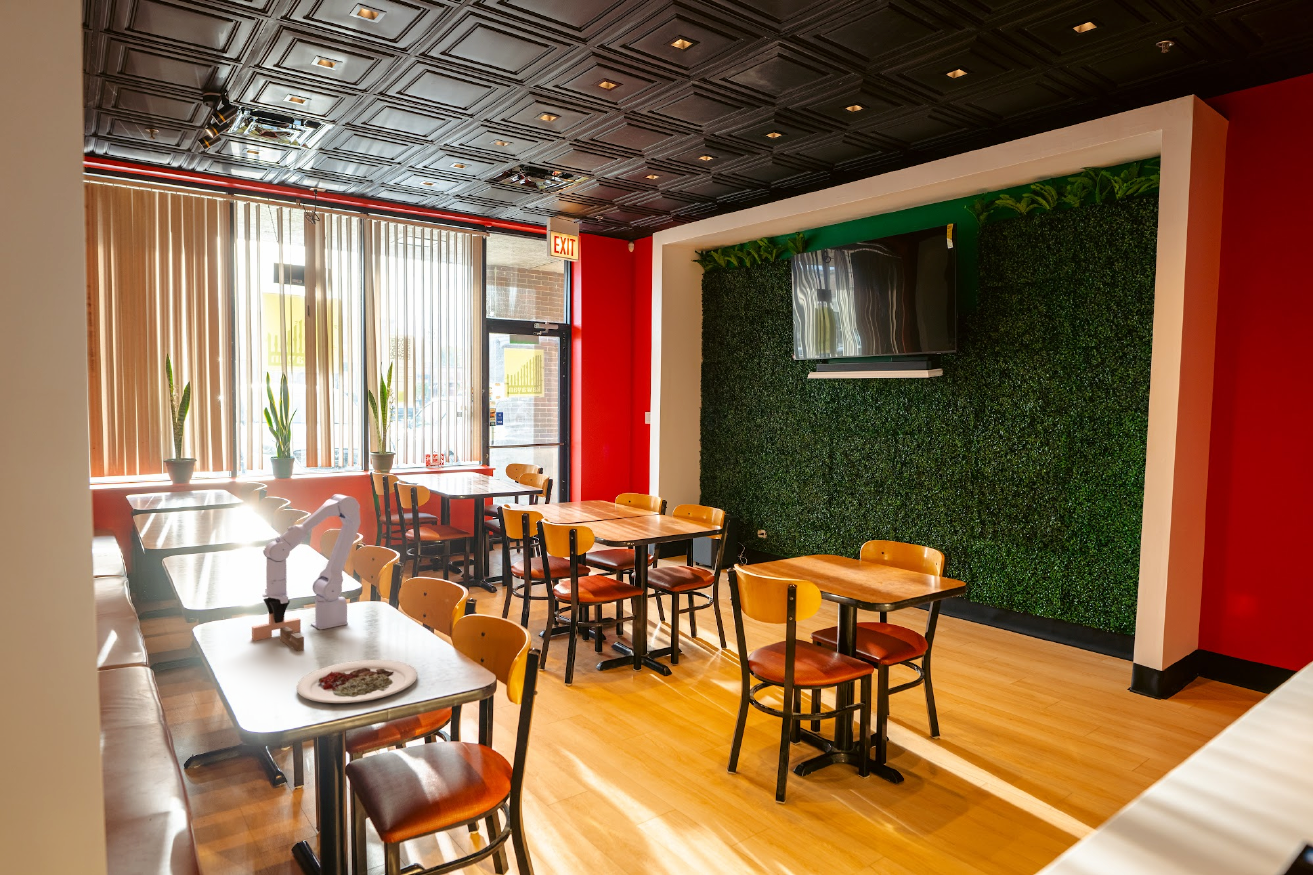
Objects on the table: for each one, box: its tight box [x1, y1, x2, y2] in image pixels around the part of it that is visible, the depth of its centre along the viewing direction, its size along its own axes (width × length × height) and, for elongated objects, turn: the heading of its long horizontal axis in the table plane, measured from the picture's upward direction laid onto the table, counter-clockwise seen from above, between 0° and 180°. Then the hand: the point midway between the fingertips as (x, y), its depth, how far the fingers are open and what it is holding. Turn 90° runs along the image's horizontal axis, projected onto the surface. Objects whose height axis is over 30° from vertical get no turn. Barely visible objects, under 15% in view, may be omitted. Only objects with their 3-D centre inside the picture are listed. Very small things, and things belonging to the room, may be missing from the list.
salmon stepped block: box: [251, 613, 302, 641], centre depth 238 cm, size 14×2×7 cm, turn 136°
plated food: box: [296, 659, 418, 704], centre depth 198 cm, size 30×30×3 cm
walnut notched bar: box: [279, 627, 305, 652], centre depth 229 cm, size 2×14×4 cm, turn 46°
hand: (276, 621), depth 238 cm, fingers open, 3 cm apart
